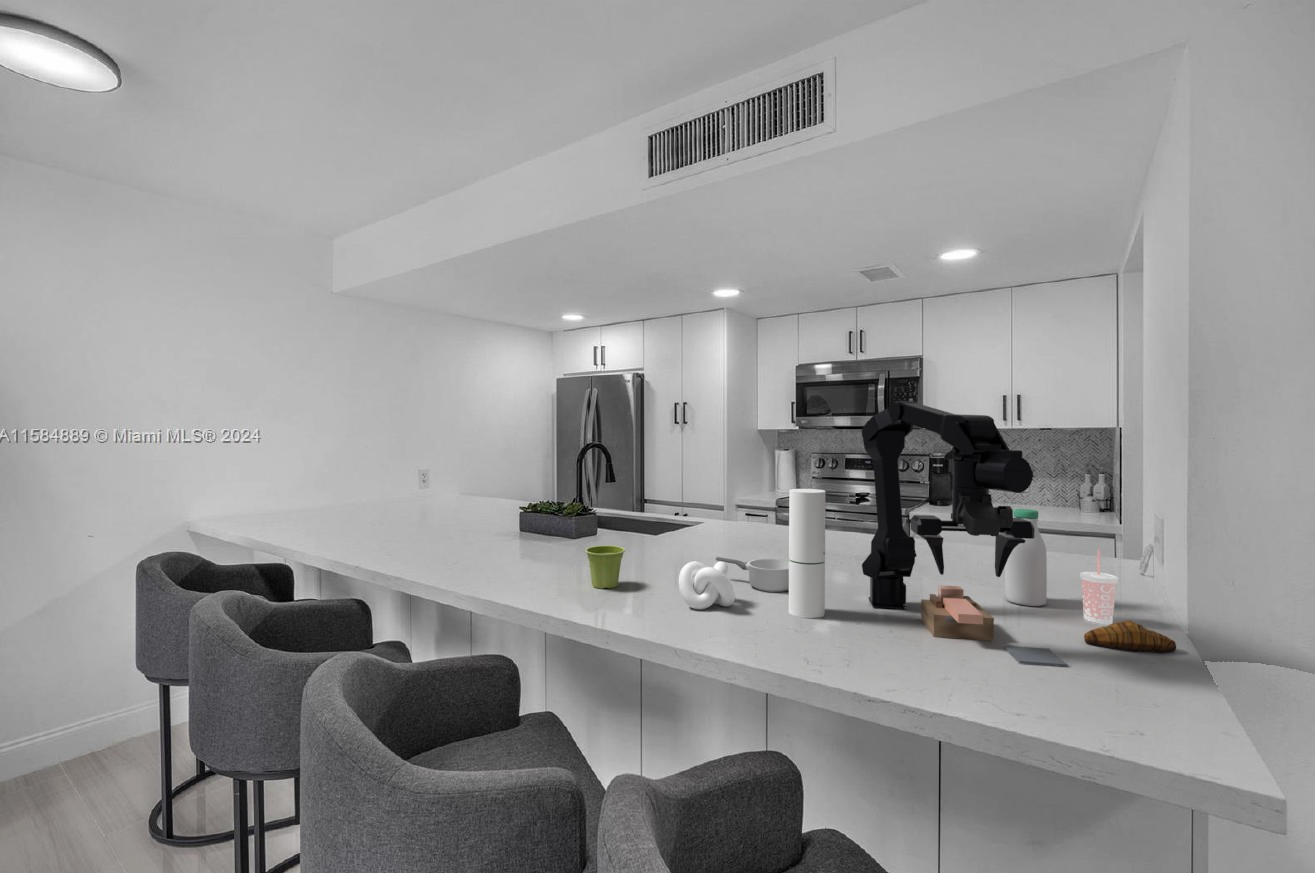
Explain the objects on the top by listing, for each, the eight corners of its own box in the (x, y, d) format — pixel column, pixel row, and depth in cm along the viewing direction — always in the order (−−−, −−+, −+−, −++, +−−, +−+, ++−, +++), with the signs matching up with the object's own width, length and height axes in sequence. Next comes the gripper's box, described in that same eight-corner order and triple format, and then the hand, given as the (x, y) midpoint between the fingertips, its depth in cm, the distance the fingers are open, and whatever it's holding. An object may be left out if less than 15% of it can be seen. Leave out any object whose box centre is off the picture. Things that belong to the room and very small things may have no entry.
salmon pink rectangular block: (958, 622, 107) (958, 613, 107) (942, 606, 116) (942, 597, 116) (983, 624, 106) (983, 615, 106) (965, 607, 116) (965, 598, 116)
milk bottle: (1052, 608, 128) (1053, 512, 128) (1012, 605, 130) (1012, 511, 130) (1038, 598, 136) (1038, 508, 136) (1000, 596, 137) (1000, 507, 137)
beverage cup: (1084, 623, 119) (1085, 551, 118) (1075, 614, 124) (1076, 545, 124) (1122, 627, 116) (1123, 554, 116) (1111, 617, 122) (1112, 547, 122)
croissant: (1092, 652, 105) (1092, 623, 105) (1076, 638, 111) (1077, 611, 111) (1187, 660, 101) (1187, 630, 101) (1165, 646, 108) (1165, 617, 107)
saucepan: (725, 574, 157) (726, 552, 157) (802, 585, 147) (803, 561, 147) (706, 584, 147) (706, 561, 147) (787, 596, 137) (787, 571, 137)
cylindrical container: (827, 610, 127) (828, 489, 126) (821, 620, 120) (822, 493, 120) (792, 605, 130) (793, 488, 129) (785, 615, 123) (785, 491, 123)
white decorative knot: (685, 616, 123) (686, 571, 123) (672, 599, 135) (672, 558, 135) (739, 612, 125) (739, 568, 125) (721, 596, 137) (721, 556, 137)
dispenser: (934, 637, 111) (934, 598, 111) (921, 619, 121) (921, 584, 121) (994, 641, 109) (994, 602, 109) (975, 622, 119) (976, 586, 119)
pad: (1019, 663, 99) (1019, 660, 99) (1003, 647, 106) (1003, 645, 106) (1067, 666, 98) (1067, 664, 98) (1048, 650, 104) (1048, 648, 104)
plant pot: (632, 584, 147) (632, 548, 147) (609, 593, 139) (609, 555, 139) (601, 578, 152) (601, 543, 152) (577, 587, 144) (577, 550, 144)
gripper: (925, 490, 101) (924, 584, 101) (1049, 493, 98) (1048, 590, 98) (910, 484, 112) (909, 569, 112) (1021, 486, 109) (1020, 573, 109)
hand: (969, 575), depth 108 cm, fingers open, 9 cm apart
